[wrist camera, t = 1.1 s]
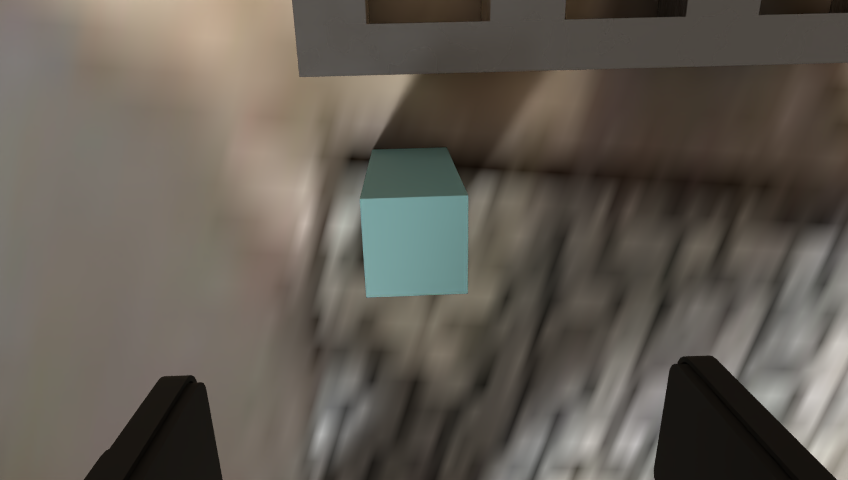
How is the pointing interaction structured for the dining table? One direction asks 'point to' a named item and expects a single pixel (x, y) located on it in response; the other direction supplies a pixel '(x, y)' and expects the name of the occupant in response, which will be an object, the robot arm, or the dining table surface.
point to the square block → (414, 224)
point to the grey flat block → (563, 38)
